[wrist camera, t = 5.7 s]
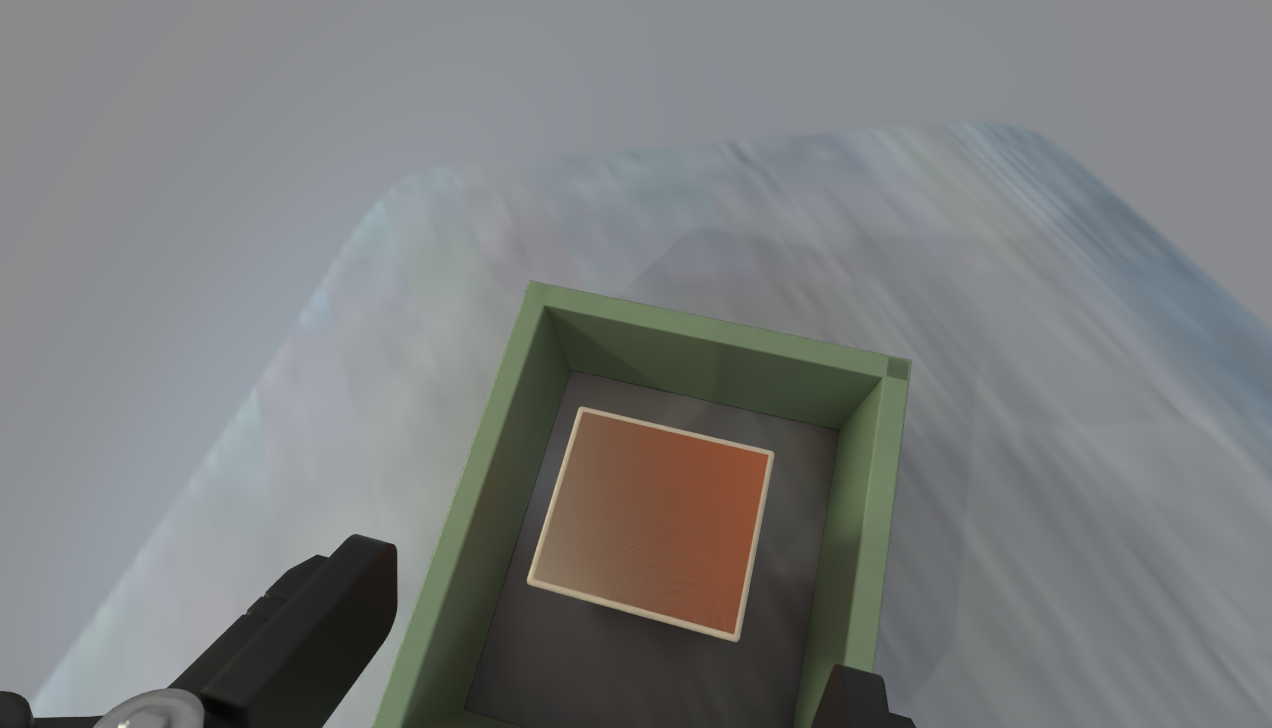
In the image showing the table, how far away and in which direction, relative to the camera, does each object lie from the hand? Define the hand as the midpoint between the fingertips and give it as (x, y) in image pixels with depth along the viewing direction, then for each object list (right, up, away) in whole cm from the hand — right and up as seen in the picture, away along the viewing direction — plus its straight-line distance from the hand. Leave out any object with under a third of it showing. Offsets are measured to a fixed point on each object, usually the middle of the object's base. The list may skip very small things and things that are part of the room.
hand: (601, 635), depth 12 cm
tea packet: (+2, -2, +13) cm, 13 cm away
